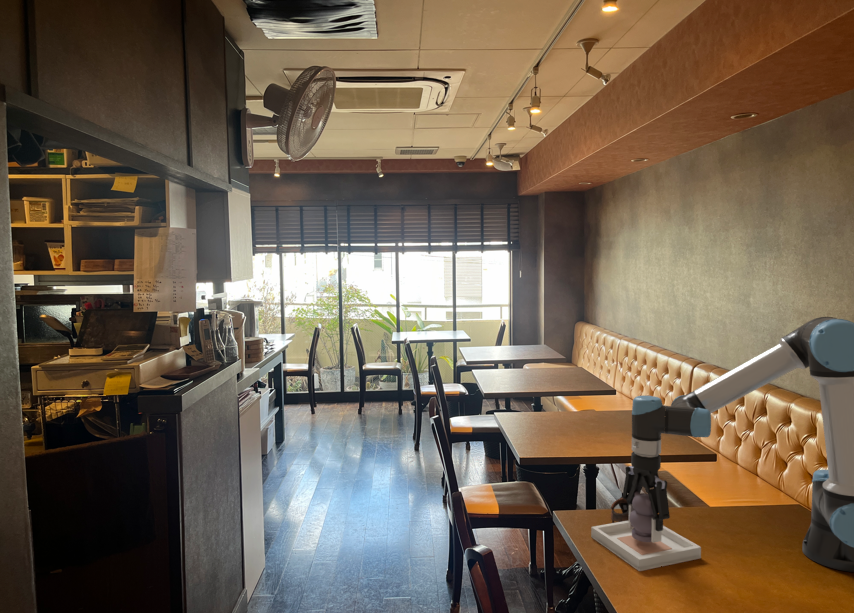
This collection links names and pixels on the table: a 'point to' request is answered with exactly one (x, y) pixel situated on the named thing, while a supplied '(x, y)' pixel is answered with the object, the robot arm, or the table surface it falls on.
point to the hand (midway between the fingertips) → (644, 533)
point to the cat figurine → (641, 517)
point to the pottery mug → (624, 507)
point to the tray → (645, 546)
